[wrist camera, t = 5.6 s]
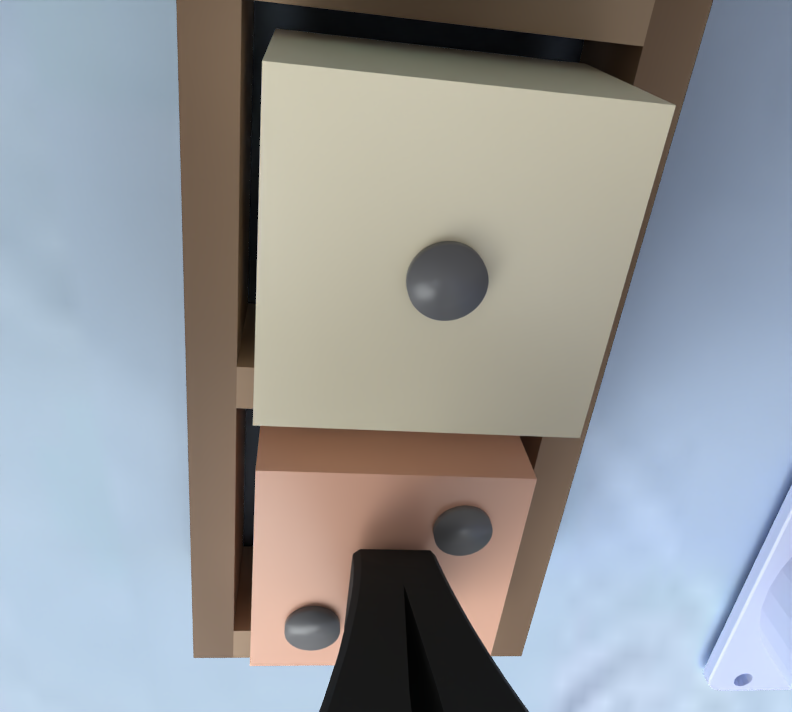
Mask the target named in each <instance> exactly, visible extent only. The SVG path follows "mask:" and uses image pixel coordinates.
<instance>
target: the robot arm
mask: <svg viewBox="0 0 792 712" xmlns="http://www.w3.org/2000/svg"><path fill="white" fill-rule="evenodd" d="M703 675H704V677H705V679H706V681H707V683H708V685H709V687H711V688H712V689H714V690H720V691H732V690H792V485H791V487H790V489H789V492H788V494H787V496H786V498H785V500H784V502H783V504H782V506H781V508H780V510H779V513H778V515H777V517H776V519H775V521H774V523H773V525H772V527H771V529H770V531H769V534H768V536H767V538H766V540H765V542H764V544H763V546H762V548H761V550H760V552H759V555H758V557H757V559H756V561H755V563H754V565H753V567H752V569H751V571H750V573H749V575H748V578H747V580H746V582H745V584H744V586H743V588H742V590H741V592H740V594H739V596H738V599H737V601H736V603H735V605H734V607H733V609H732V611H731V613H730V615H729V617H728V620H727V622H726V624H725V626H724V628H723V630H722V632H721V634H720V636H719V638H718V641H717V643H716V645H715V647H714V649H713V651H712V653H711V655H710V657H709V659H708V662H707V664H706V666H705V668H704V671H703ZM319 712H529V711H528V710H527V708H526V707H525V706H524V704H523V703H522V702H521V700H520V699H519V697H518V696H517V694H516V693H515V691H514V690H513V689H512V687H511V686H510V684H509V683H508V681H507V680H506V679H505V677H504V676H503V674H502V673H501V671H500V669H499V668H498V666H497V665H496V663H495V662H494V660H493V659H492V657H491V656H490V654H489V652H488V651H487V649H486V647H485V646H484V644H483V643H482V641H481V639H480V638H479V636H478V635H477V633H476V631H475V630H474V628H473V626H472V625H471V623H470V621H469V619H468V618H467V616H466V614H465V612H464V611H463V609H462V607H461V605H460V603H459V601H458V600H457V598H456V596H455V594H454V592H453V590H452V588H451V587H450V585H449V583H448V581H447V579H446V577H445V575H444V573H443V571H442V568H441V566H440V564H439V562H438V560H437V558H436V556H435V554H434V553H433V552H432V551H431V550H388V549H359V550H358V551H356V552H355V553H353V556H352V564H351V573H350V581H349V590H348V598H347V607H346V616H345V624H344V633H343V637H342V641H341V645H340V649H339V653H338V656H337V660H336V663H335V666H334V669H333V672H332V675H331V678H330V682H329V685H328V688H327V691H326V694H325V697H324V700H323V703H322V706H321V708H320V711H319Z"/></svg>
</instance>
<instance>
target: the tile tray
mask: <svg viewBox="0 0 792 712" xmlns="http://www.w3.org/2000/svg"><path fill="white" fill-rule="evenodd" d="M257 1H265V2H273V3H282V4H290V5H299V6H307V7H315V8H324V9H332V10H341V11H349V12H357V13H366V14H374V15H383V16H391V17H399V18H408V19H416V20H425V21H433V22H442V23H450V24H458V25H467V26H475V27H484V28H492V29H500V30H509V31H517V32H526V33H534V34H542V35H551V36H559V37H568V38H576V39H584V43H583V47H582V52H581V56H580V61H579V63H585V64H587V65H589V66H591V67H594V68H596V69H598V70H600V71H602V72H604V73H607V74H609V75H611V76H613V77H615V78H618V79H620V80H622V81H624V82H626V83H628V84H631V85H633V86H635V87H637V88H639V89H641V90H644V91H646V92H648V93H650V94H652V95H654V96H657V97H659V98H661V99H663V100H665V101H668V102H670V103H672V104H674V105H676V107H675V110H674V114H673V117H672V121H671V124H670V128H669V131H668V135H667V138H666V142H665V145H664V148H663V152H662V155H661V159H660V162H659V166H658V169H657V173H656V176H655V180H654V183H653V187H652V190H651V194H650V197H649V200H648V204H647V207H646V211H645V214H644V218H643V221H642V225H641V228H640V232H639V235H638V239H637V242H636V246H635V249H634V252H633V256H632V259H631V263H630V266H629V270H628V273H627V277H626V280H625V284H624V287H623V291H622V294H621V298H620V301H619V304H618V308H617V311H616V315H615V318H614V322H613V325H612V329H611V332H610V336H609V339H608V343H607V346H606V350H605V353H604V356H603V360H602V363H601V367H600V370H599V374H598V377H597V381H596V384H595V388H594V391H593V395H592V398H591V402H590V405H589V408H588V412H587V415H586V419H585V422H584V426H583V429H582V433H581V436H580V438H566V437H540V436H520V439H521V441H522V444H523V446H524V449H525V451H526V453H527V456H528V458H529V461H530V463H531V465H532V468H533V470H534V473H535V475H536V477H537V481H536V485H535V489H534V493H533V497H532V501H531V504H530V508H529V512H528V516H527V520H526V523H525V527H524V531H523V535H522V539H521V542H520V546H519V550H518V554H517V558H516V561H515V565H514V569H513V573H512V577H511V580H510V584H509V588H508V592H507V596H506V599H505V603H504V607H503V611H502V615H501V619H500V622H499V626H498V630H497V634H496V638H495V641H494V645H493V649H492V653H491V656H521V655H522V652H523V648H524V645H525V642H526V638H527V635H528V631H529V628H530V624H531V621H532V618H533V614H534V611H535V607H536V604H537V601H538V597H539V594H540V590H541V587H542V583H543V580H544V577H545V573H546V570H547V566H548V563H549V560H550V556H551V553H552V549H553V546H554V542H555V539H556V536H557V532H558V529H559V525H560V522H561V519H562V515H563V512H564V508H565V505H566V501H567V498H568V495H569V491H570V488H571V484H572V481H573V477H574V474H575V471H576V467H577V464H578V460H579V457H580V454H581V450H582V447H583V443H584V440H585V436H586V433H587V430H588V426H589V423H590V419H591V416H592V413H593V409H594V406H595V402H596V399H597V395H598V392H599V389H600V385H601V382H602V378H603V375H604V372H605V368H606V365H607V361H608V358H609V354H610V351H611V348H612V344H613V341H614V337H615V334H616V331H617V327H618V324H619V320H620V317H621V313H622V310H623V307H624V303H625V300H626V296H627V293H628V289H629V286H630V283H631V279H632V276H633V272H634V269H635V266H636V262H637V259H638V255H639V252H640V248H641V245H642V242H643V238H644V235H645V231H646V228H647V225H648V221H649V218H650V214H651V211H652V207H653V204H654V201H655V197H656V194H657V190H658V187H659V184H660V180H661V177H662V173H663V170H664V166H665V163H666V160H667V156H668V153H669V149H670V146H671V142H672V139H673V136H674V132H675V129H676V125H677V122H678V119H679V115H680V112H681V108H682V105H683V101H684V98H685V95H686V91H687V88H688V84H689V81H690V78H691V74H692V71H693V67H694V64H695V60H696V57H697V54H698V50H699V47H700V43H701V40H702V37H703V33H704V30H705V26H706V23H707V19H708V16H709V13H710V9H711V6H712V2H713V0H257ZM176 4H177V42H178V81H179V119H180V157H181V195H182V233H183V271H184V309H185V348H186V386H187V424H188V462H189V500H190V538H191V577H192V615H193V653H194V658H247V657H250V643H251V608H252V574H253V546H243V536H244V486H245V436H246V409H253V399H254V360H255V321H256V304H254V303H248V286H249V236H250V186H251V136H252V86H253V36H254V0H176Z"/></svg>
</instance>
